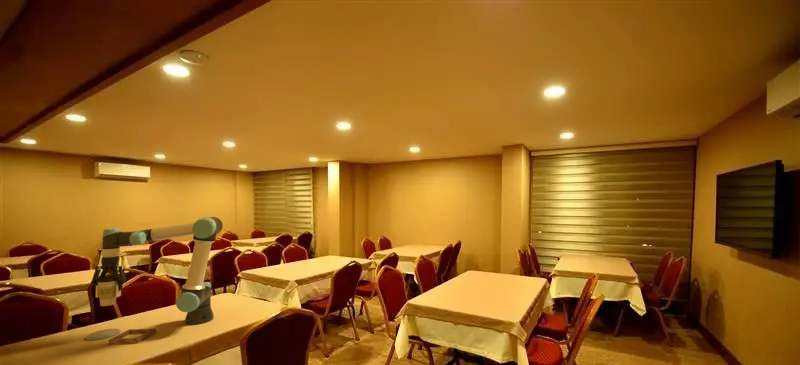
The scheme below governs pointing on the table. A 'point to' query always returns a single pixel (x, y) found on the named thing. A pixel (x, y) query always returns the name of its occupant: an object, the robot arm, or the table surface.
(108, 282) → the coffee cup
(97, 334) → the coaster
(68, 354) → the table surface
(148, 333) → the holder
